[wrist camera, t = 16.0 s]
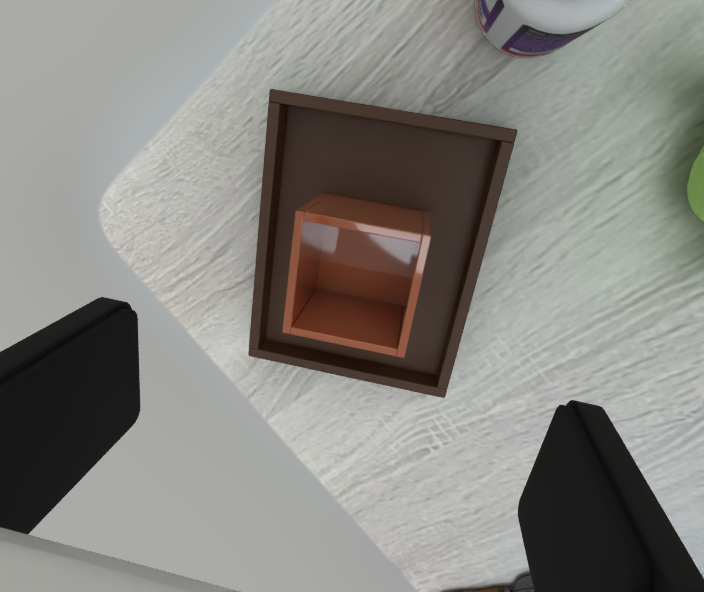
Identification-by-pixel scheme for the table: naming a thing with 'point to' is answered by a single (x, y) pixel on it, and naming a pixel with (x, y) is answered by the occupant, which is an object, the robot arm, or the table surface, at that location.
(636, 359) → the table surface
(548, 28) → the pill bottle
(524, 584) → the can opener
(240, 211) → the table surface
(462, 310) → the tray
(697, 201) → the teapot
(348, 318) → the terracotta tub
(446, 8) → the table surface
